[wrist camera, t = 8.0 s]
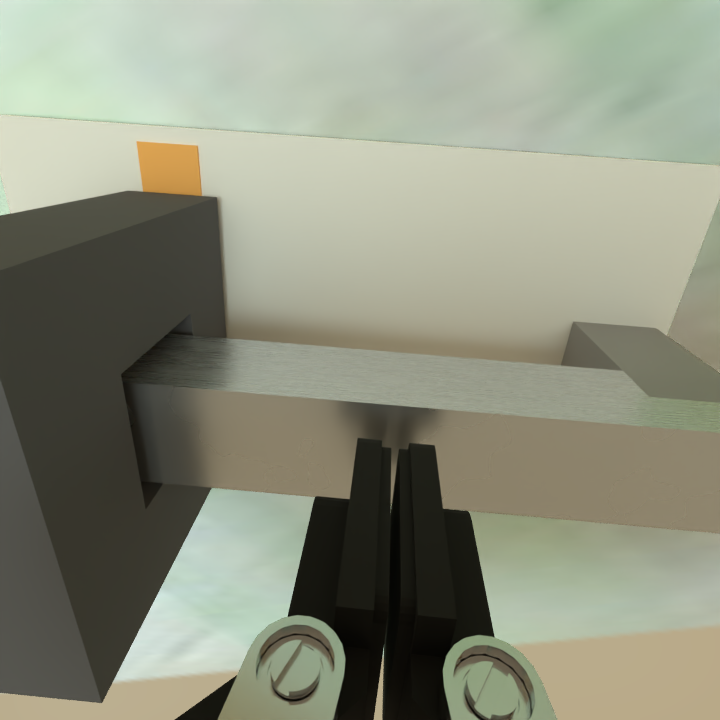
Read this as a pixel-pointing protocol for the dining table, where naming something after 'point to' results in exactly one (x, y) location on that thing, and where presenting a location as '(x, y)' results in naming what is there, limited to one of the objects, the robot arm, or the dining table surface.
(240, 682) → the robot arm
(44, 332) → the collar
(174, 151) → the stand
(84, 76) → the dining table surface
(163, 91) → the dining table surface
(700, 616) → the dining table surface
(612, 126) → the dining table surface
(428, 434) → the metal square bar
